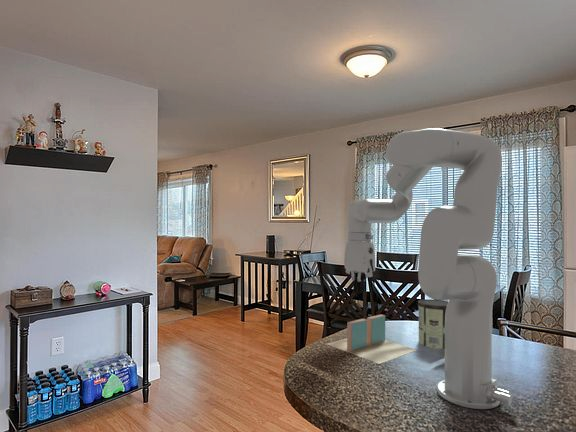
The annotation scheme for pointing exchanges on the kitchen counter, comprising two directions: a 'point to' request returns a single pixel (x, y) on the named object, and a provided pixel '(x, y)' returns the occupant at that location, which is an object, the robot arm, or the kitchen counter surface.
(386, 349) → the board
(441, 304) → the coffee can
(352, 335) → the tile left
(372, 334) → the tile right
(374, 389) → the kitchen counter surface
